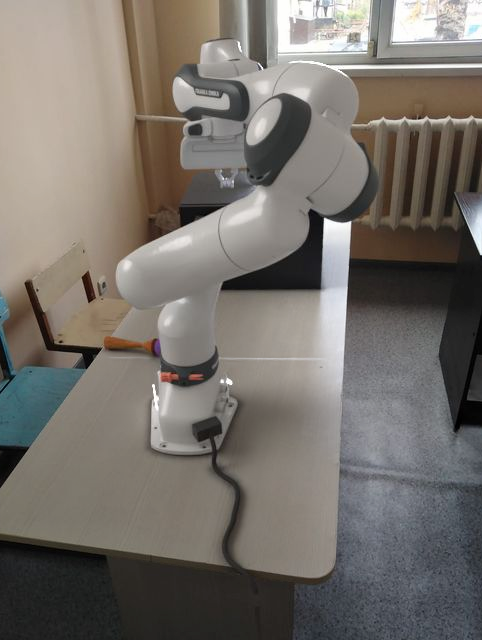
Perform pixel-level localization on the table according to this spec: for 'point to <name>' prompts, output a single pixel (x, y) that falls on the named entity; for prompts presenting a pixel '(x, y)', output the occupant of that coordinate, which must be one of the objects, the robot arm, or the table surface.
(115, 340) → the kendama
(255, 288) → the oven door
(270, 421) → the table surface
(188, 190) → the oven
